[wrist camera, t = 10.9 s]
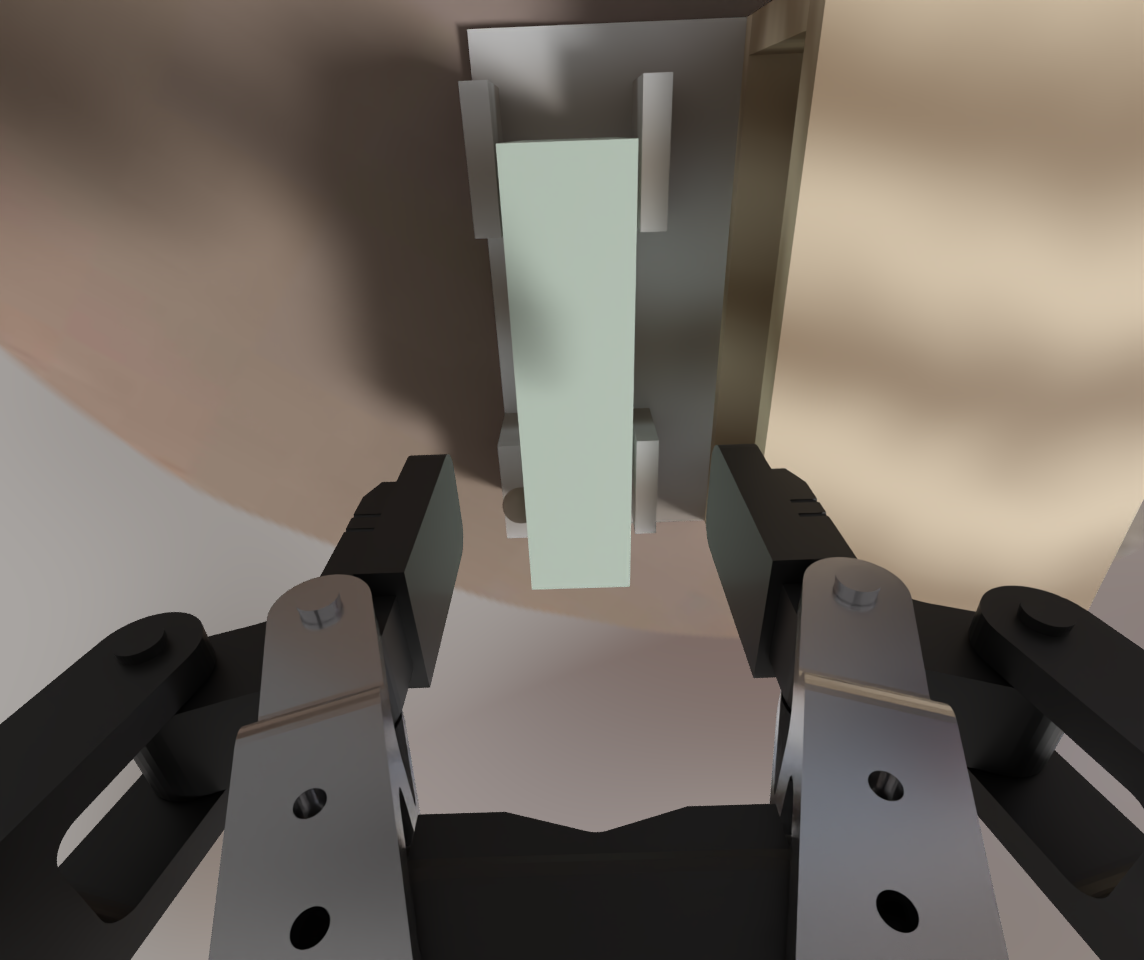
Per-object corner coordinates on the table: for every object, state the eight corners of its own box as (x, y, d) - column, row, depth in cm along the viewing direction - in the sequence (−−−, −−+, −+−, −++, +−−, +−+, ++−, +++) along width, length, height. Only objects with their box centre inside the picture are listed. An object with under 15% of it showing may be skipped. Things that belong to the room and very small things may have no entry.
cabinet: (469, 31, 19) (421, -20, 13) (1141, 2, 18) (1424, -64, 12) (516, 522, 28) (502, 631, 21) (970, 506, 27) (1086, 612, 21)
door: (489, 141, 20) (448, 145, 13) (612, 137, 20) (638, 138, 13) (517, 466, 26) (499, 590, 19) (612, 464, 26) (629, 586, 19)
